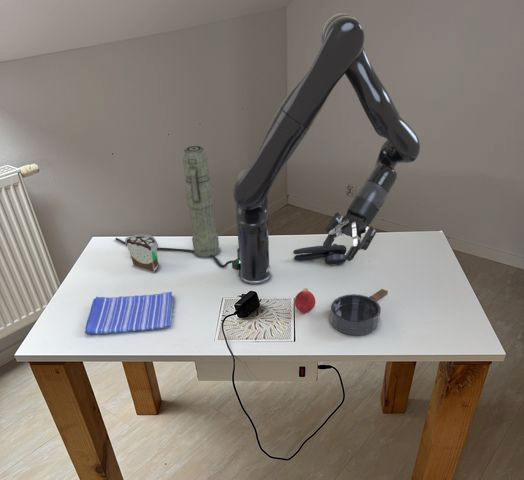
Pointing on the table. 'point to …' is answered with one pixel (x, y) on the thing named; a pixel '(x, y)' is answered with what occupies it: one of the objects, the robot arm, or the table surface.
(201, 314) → the table surface
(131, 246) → the cake slice
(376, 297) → the pan handle
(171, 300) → the dish towel
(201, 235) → the thermos
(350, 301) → the pan
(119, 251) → the table surface
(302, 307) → the onion
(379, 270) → the table surface
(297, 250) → the can opener
